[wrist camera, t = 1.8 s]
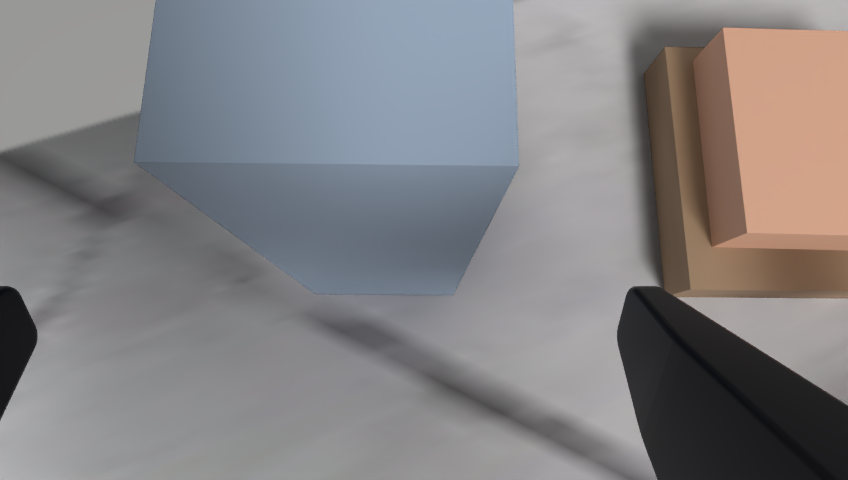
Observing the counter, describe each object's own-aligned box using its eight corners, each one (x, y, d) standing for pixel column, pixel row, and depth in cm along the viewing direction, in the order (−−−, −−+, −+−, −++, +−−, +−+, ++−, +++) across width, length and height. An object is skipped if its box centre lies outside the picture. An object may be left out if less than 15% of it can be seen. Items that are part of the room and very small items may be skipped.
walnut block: (853, 84, 23) (905, 50, 20) (894, 300, 21) (958, 291, 18) (638, 81, 23) (664, 46, 20) (657, 298, 20) (690, 289, 18)
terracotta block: (881, 66, 20) (932, 33, 18) (917, 252, 18) (976, 238, 17) (692, 60, 20) (722, 27, 18) (711, 247, 18) (747, 233, 16)
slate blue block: (452, 164, 21) (507, -145, 8) (453, 295, 20) (519, 165, 7) (321, 163, 21) (176, -151, 8) (315, 293, 20) (134, 162, 7)
